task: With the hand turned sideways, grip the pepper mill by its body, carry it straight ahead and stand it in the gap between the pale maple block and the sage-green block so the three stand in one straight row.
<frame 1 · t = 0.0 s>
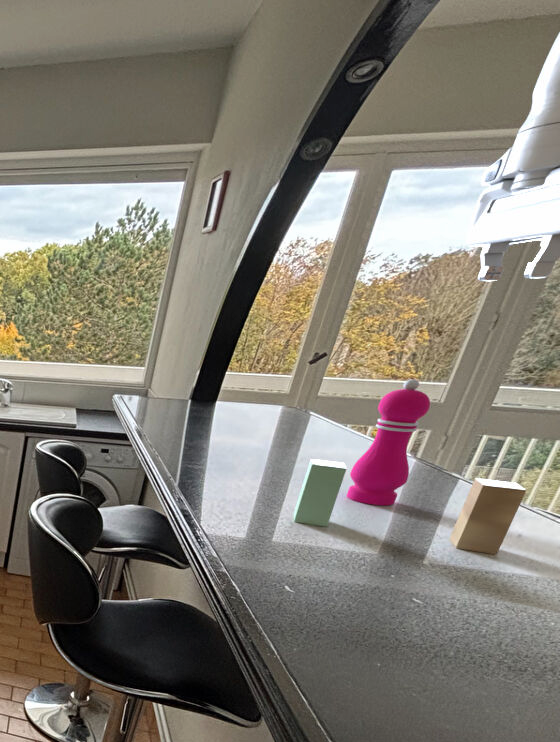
hand: (510, 279, 77), 34 cm above the countertop, tool pointing down, fingers open, 8 cm apart
pepper mill: (369, 501, 100), on the countertop
sage block: (309, 520, 90), on the countertop
maple block: (472, 546, 81), on the countertop
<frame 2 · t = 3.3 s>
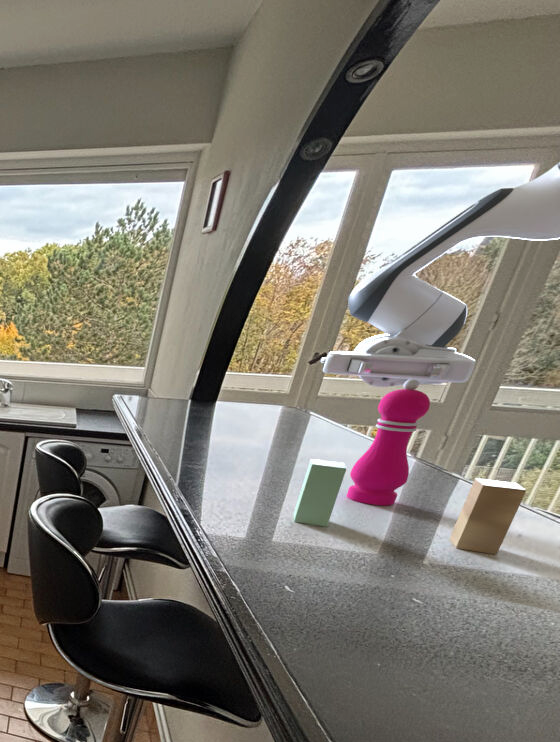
hand: (401, 370, 101), 20 cm above the countertop, tool horizontal, fingers open, 8 cm apart
nothing on the countertop moved.
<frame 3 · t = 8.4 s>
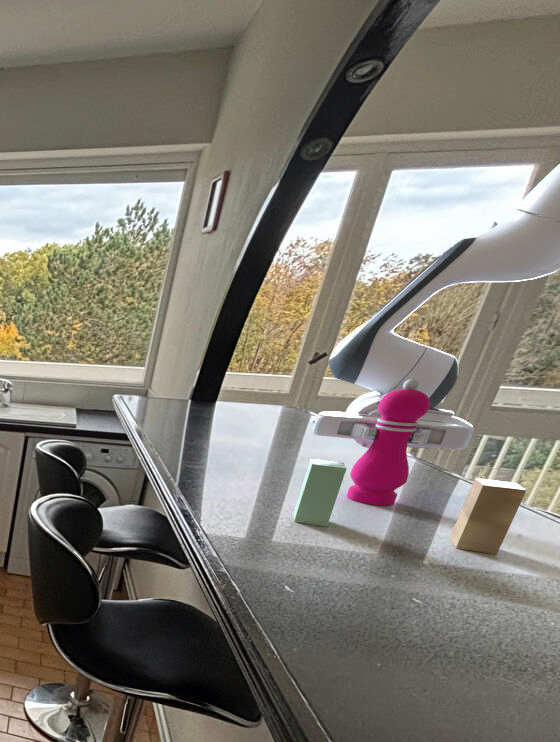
hand: (394, 436, 95), 11 cm above the countertop, tool horizontal, fingers closed on pepper mill, 4 cm apart
pepper mill: (369, 501, 100), on the countertop, touching gripper
everything else where it was.
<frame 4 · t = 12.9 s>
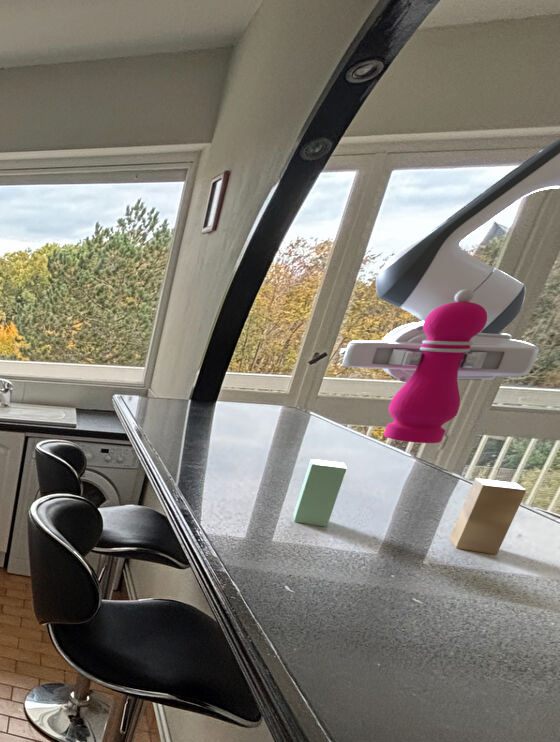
hand: (442, 360, 80), 24 cm above the countertop, tool horizontal, fingers closed on pepper mill, 4 cm apart
pepper mill: (410, 440, 85), point 13 cm above the countertop, touching gripper
everything else where it was.
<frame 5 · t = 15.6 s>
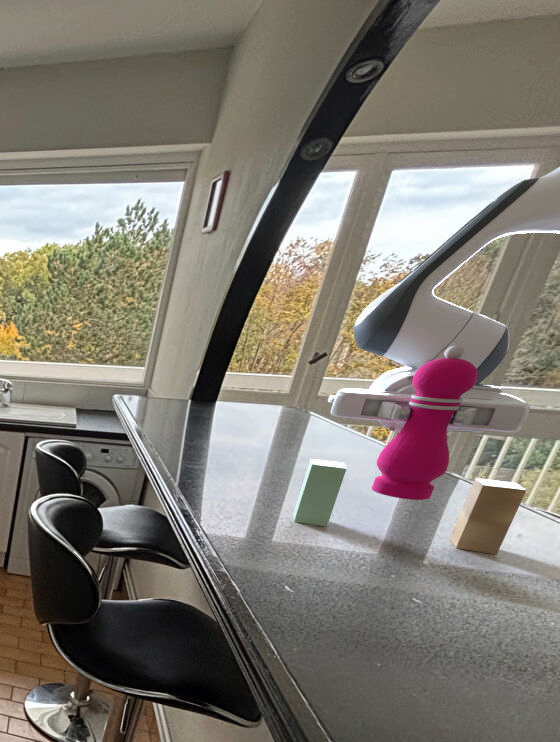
hand: (431, 416, 78), 17 cm above the countertop, tool horizontal, fingers closed on pepper mill, 4 cm apart
pepper mill: (399, 494, 83), point 6 cm above the countertop, touching gripper
everything else where it was.
when the fingers open (11 cm above the countertop, at t = 17.6 s): pepper mill stays where it is, on the countertop.
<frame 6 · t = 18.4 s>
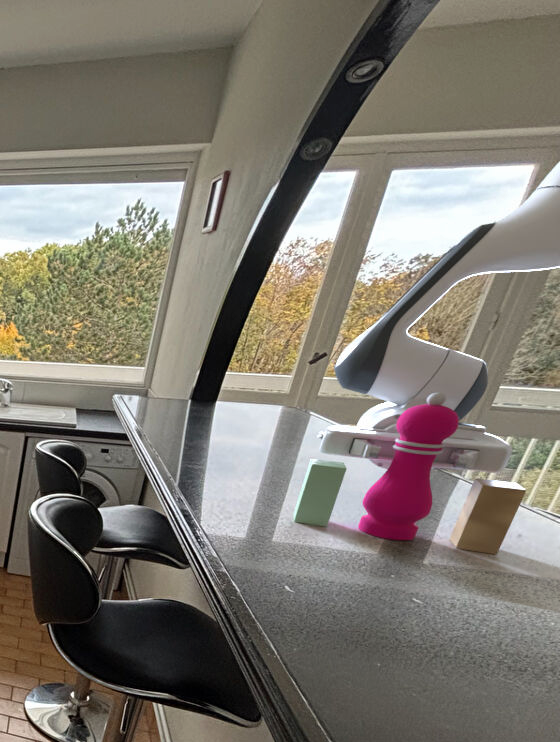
hand: (417, 457, 80), 11 cm above the countertop, tool horizontal, fingers open, 8 cm apart
pepper mill: (384, 534, 85), on the countertop
everything else where it was.
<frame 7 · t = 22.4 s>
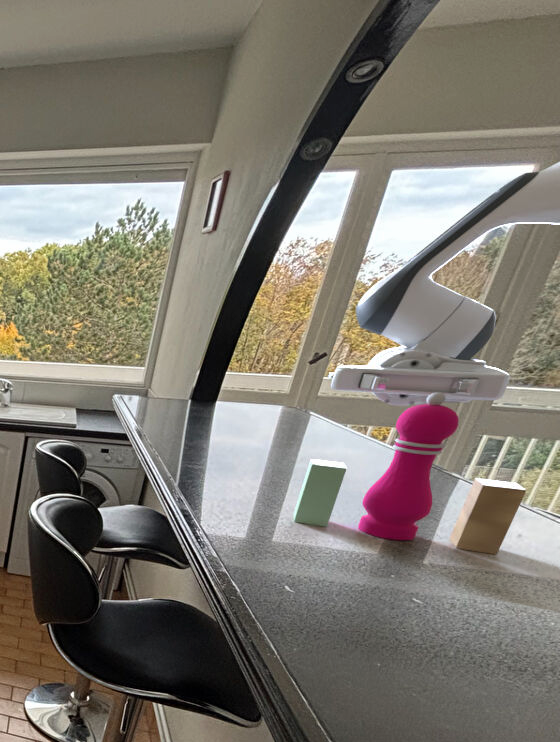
hand: (421, 386, 87), 20 cm above the countertop, tool horizontal, fingers open, 8 cm apart
nothing on the countertop moved.
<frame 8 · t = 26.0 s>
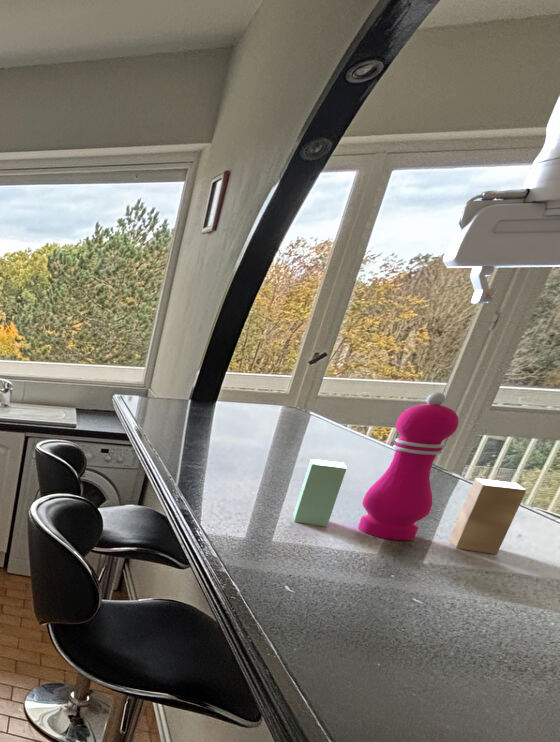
hand: (524, 303, 80), 31 cm above the countertop, tool pointing down, fingers open, 8 cm apart
nothing on the countertop moved.
at the end: pepper mill 0.2 cm from the target spot, on the countertop; pepper mill tilted 0°; maple block moved 0.0 cm from its start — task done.
